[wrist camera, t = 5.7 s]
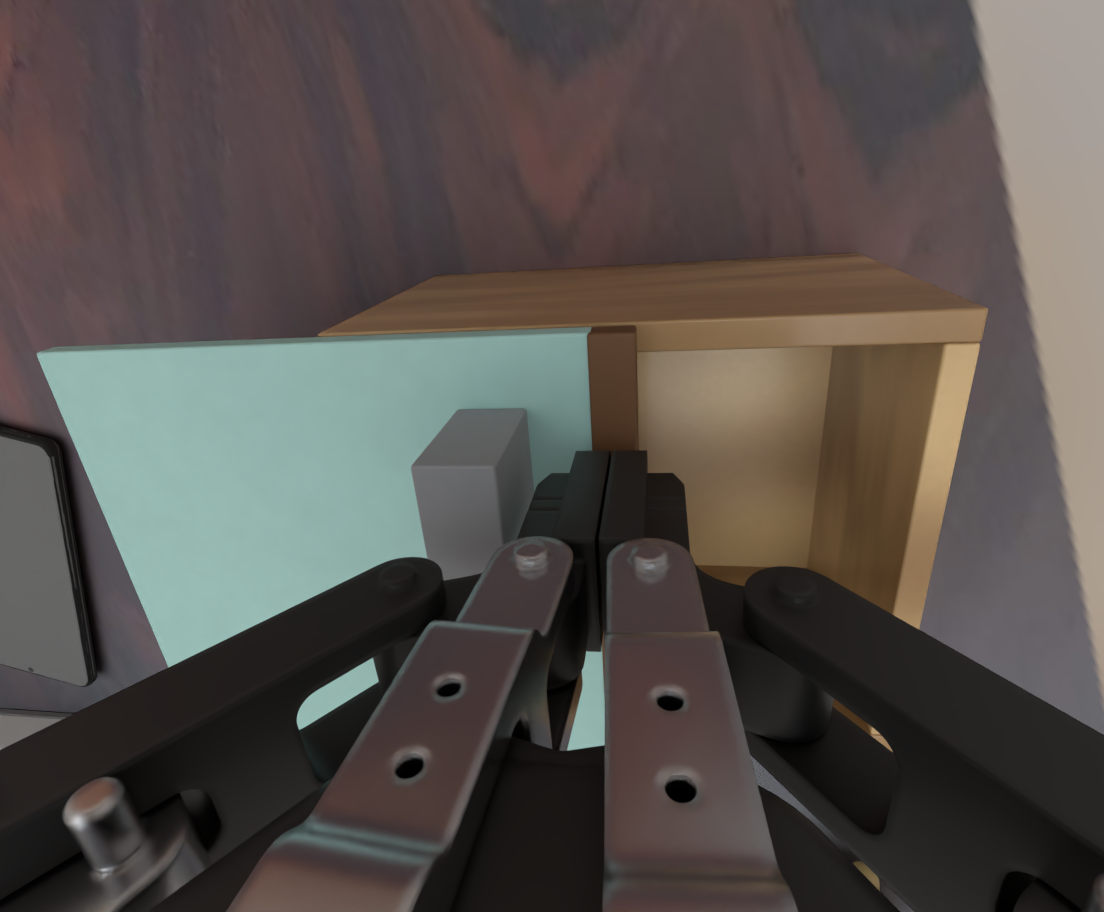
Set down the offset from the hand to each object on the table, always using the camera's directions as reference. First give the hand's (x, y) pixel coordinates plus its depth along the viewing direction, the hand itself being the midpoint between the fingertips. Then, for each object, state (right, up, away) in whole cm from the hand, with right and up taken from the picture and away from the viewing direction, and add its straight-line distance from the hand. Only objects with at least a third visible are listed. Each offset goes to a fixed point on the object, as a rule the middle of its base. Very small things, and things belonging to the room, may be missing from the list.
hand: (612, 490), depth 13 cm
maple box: (+2, +2, +11) cm, 11 cm away
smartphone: (-28, -4, +19) cm, 34 cm away
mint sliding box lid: (-6, -2, +4) cm, 7 cm away
